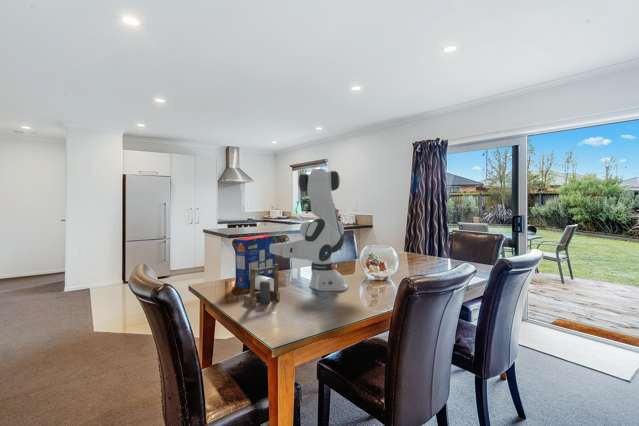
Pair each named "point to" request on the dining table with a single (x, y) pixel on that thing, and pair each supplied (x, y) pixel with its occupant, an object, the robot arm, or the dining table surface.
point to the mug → (259, 279)
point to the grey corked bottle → (264, 292)
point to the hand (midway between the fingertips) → (279, 245)
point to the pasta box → (253, 258)
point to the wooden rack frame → (255, 296)
